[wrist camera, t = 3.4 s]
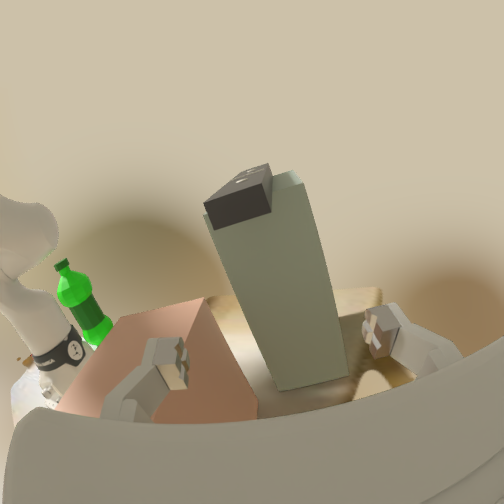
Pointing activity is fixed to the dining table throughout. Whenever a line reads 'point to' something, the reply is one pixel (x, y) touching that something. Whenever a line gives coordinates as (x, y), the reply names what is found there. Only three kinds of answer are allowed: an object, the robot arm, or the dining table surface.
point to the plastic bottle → (82, 303)
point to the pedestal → (285, 288)
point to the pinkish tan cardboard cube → (200, 373)
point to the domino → (241, 198)
